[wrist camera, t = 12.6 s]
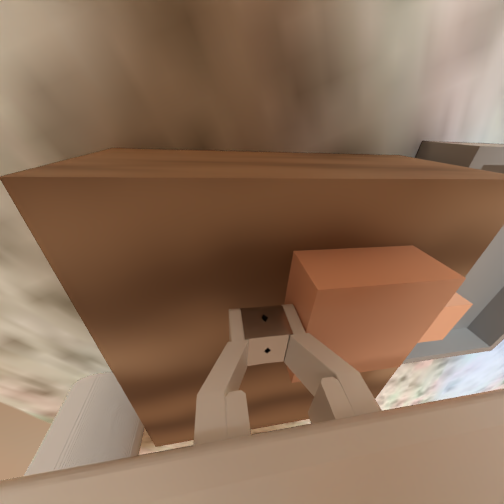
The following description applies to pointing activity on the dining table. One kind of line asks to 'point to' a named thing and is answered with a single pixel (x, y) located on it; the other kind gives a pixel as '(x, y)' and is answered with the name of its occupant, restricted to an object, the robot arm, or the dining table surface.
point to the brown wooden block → (229, 252)
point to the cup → (90, 427)
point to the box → (481, 274)
